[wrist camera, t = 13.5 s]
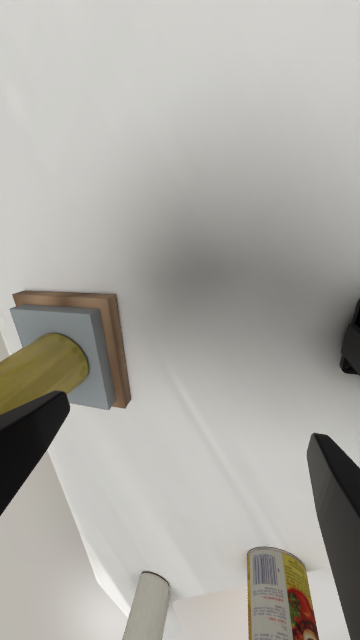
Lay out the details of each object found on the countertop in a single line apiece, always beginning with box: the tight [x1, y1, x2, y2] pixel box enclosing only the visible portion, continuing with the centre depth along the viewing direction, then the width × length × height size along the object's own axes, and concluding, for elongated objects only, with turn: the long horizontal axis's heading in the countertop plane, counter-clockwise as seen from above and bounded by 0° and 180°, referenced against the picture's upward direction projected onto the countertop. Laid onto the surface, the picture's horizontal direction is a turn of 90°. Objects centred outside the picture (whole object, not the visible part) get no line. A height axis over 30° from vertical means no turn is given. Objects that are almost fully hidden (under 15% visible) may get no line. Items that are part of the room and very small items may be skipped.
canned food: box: [247, 547, 319, 640], centre depth 27 cm, size 8×8×12 cm
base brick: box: [12, 291, 131, 409], centre depth 25 cm, size 11×13×2 cm
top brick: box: [10, 304, 116, 410], centre depth 23 cm, size 9×11×2 cm
